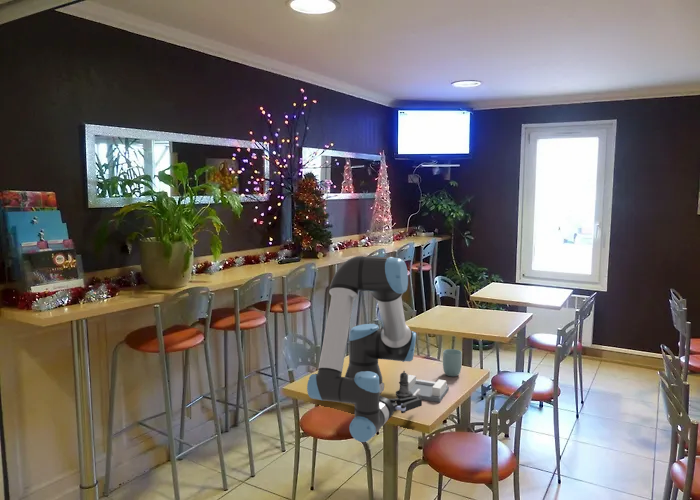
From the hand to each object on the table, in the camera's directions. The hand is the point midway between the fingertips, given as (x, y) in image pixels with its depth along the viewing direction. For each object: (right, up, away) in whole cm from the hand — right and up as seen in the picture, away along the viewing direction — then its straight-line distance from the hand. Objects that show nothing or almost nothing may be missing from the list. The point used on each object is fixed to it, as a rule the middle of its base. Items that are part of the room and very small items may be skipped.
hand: (400, 389), depth 187 cm
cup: (+25, -3, +33) cm, 41 cm away
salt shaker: (+1, -6, +4) cm, 7 cm away
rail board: (+10, -5, +13) cm, 17 cm away
